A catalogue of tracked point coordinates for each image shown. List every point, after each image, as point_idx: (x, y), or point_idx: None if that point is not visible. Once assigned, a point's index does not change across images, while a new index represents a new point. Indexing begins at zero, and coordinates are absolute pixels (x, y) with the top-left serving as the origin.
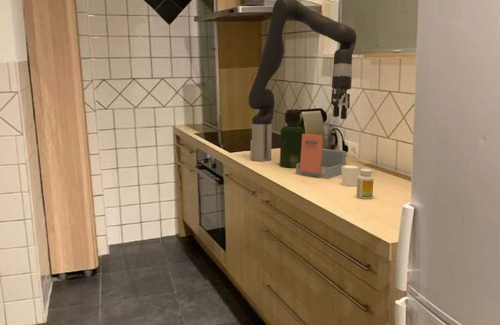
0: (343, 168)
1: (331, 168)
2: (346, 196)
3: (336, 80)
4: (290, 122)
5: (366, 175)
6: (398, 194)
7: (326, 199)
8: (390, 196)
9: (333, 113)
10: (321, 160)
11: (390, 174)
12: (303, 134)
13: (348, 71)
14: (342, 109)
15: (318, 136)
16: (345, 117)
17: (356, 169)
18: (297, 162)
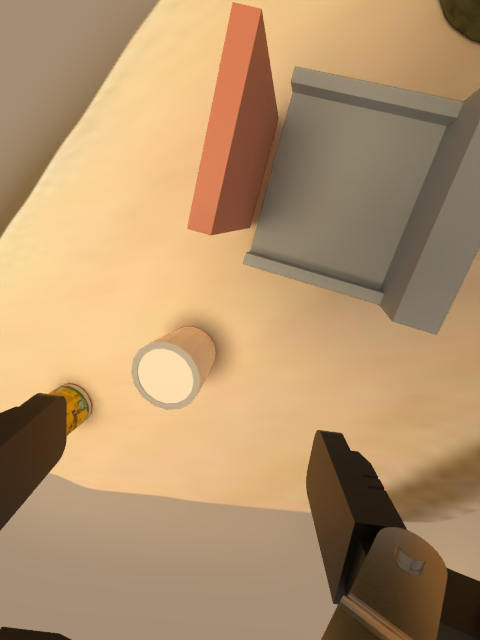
0: (139, 351)
1: (272, 272)
2: (57, 358)
3: None
4: None
5: None
6: (142, 479)
7: (5, 313)
8: (113, 460)
9: (17, 411)
10: (240, 229)
11: (421, 473)
12: (230, 23)
13: None
14: (360, 549)
15: (196, 198)
16: (309, 491)
17: (148, 398)
18: (463, 9)
